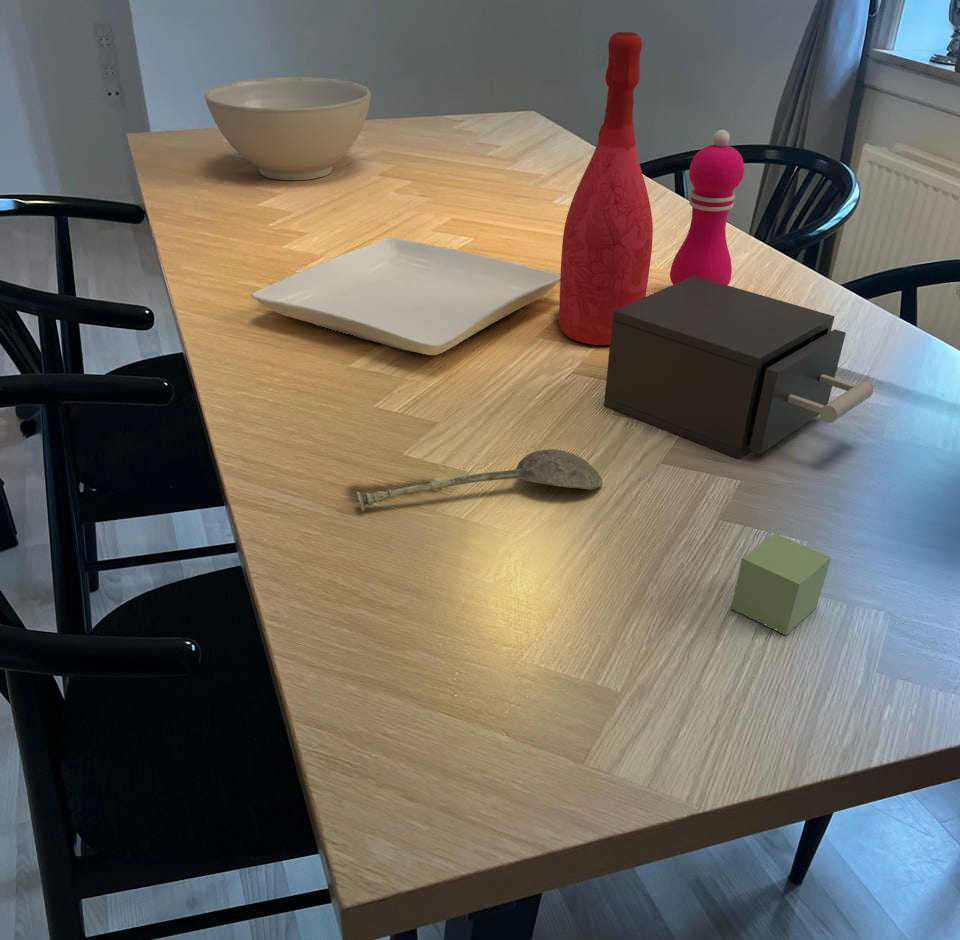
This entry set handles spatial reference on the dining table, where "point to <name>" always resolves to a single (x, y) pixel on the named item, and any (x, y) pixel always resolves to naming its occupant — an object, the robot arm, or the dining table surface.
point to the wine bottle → (608, 214)
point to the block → (780, 583)
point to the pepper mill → (709, 213)
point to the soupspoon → (515, 475)
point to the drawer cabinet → (701, 358)
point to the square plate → (408, 294)
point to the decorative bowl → (290, 122)
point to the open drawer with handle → (801, 390)
